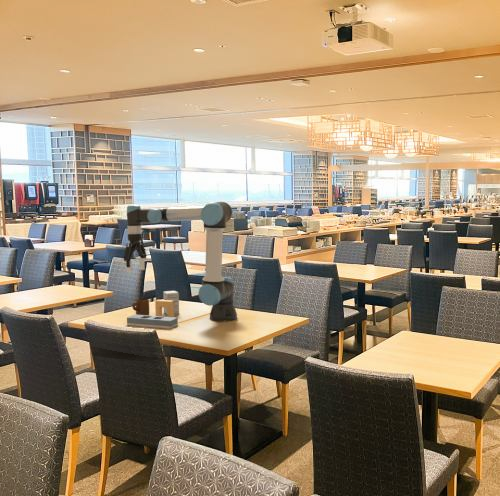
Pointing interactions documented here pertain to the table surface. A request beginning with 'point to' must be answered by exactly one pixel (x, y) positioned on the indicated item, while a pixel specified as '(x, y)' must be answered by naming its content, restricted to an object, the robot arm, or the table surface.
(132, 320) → the rail
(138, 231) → the robot arm
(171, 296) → the supplement box
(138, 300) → the mug
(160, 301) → the tall wooden block
